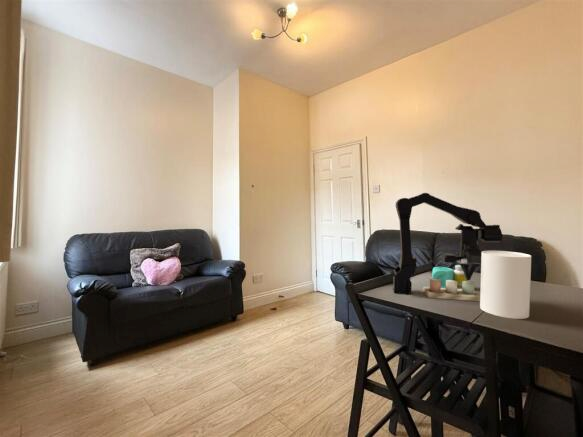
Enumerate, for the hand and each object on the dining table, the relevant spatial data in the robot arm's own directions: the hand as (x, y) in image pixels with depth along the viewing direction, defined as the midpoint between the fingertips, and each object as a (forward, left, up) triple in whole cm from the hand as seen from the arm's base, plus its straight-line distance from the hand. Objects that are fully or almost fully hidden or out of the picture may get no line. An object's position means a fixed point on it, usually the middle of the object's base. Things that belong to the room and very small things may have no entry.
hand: (468, 280), depth 111 cm
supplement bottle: (+1, +13, -7) cm, 15 cm away
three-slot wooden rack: (-6, 0, -7) cm, 9 cm away
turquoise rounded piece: (-6, +14, -7) cm, 17 cm away
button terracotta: (-12, 0, -5) cm, 13 cm away
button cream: (-6, 0, -5) cm, 8 cm away
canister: (+7, -14, -7) cm, 17 cm away
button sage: (0, 0, -5) cm, 5 cm away
